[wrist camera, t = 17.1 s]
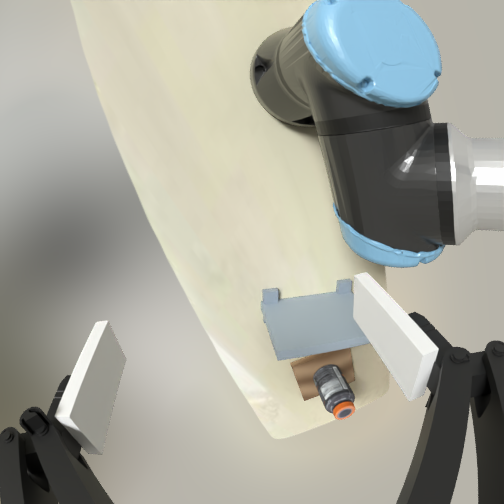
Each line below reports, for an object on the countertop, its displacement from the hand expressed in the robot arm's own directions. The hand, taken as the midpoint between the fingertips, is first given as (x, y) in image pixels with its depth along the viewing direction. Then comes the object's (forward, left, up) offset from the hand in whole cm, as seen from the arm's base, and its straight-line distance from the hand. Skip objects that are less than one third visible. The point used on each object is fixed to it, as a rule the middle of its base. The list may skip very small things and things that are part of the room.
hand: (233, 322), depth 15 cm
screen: (+2, +23, -30) cm, 38 cm away
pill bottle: (+10, +40, -29) cm, 50 cm away
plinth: (+10, +40, -30) cm, 51 cm away
